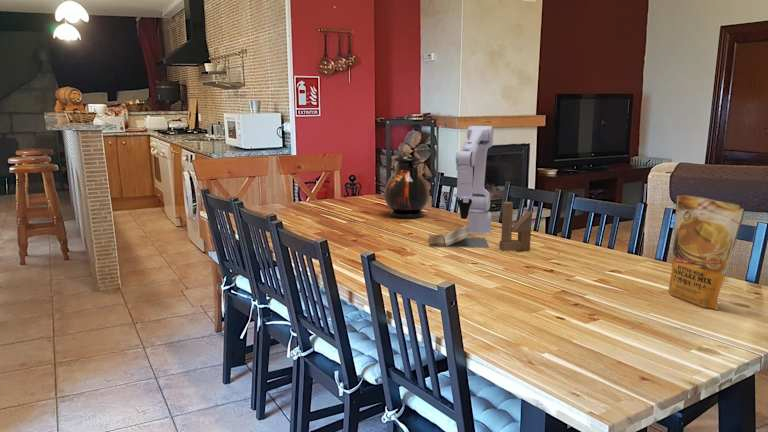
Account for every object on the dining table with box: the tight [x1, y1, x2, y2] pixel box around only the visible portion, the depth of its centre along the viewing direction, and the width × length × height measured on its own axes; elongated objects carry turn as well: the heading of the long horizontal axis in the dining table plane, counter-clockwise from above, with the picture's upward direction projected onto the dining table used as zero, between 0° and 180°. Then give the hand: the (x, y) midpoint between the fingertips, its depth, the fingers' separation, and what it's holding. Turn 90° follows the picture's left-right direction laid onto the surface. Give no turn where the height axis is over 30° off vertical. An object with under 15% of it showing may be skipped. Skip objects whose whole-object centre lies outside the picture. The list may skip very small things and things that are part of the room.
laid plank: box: [428, 234, 446, 247], centre depth 222 cm, size 6×14×1 cm, turn 176°
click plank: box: [443, 224, 472, 246], centre depth 221 cm, size 10×14×1 cm
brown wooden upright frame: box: [498, 201, 533, 252], centre depth 210 cm, size 4×11×18 cm, turn 104°
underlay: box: [429, 237, 490, 249], centre depth 221 cm, size 22×16×1 cm
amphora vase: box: [384, 156, 430, 219], centre depth 275 cm, size 22×22×28 cm
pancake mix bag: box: [667, 194, 745, 311], centre depth 154 cm, size 7×19×28 cm, turn 19°
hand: (463, 218), depth 219 cm, fingers closed
